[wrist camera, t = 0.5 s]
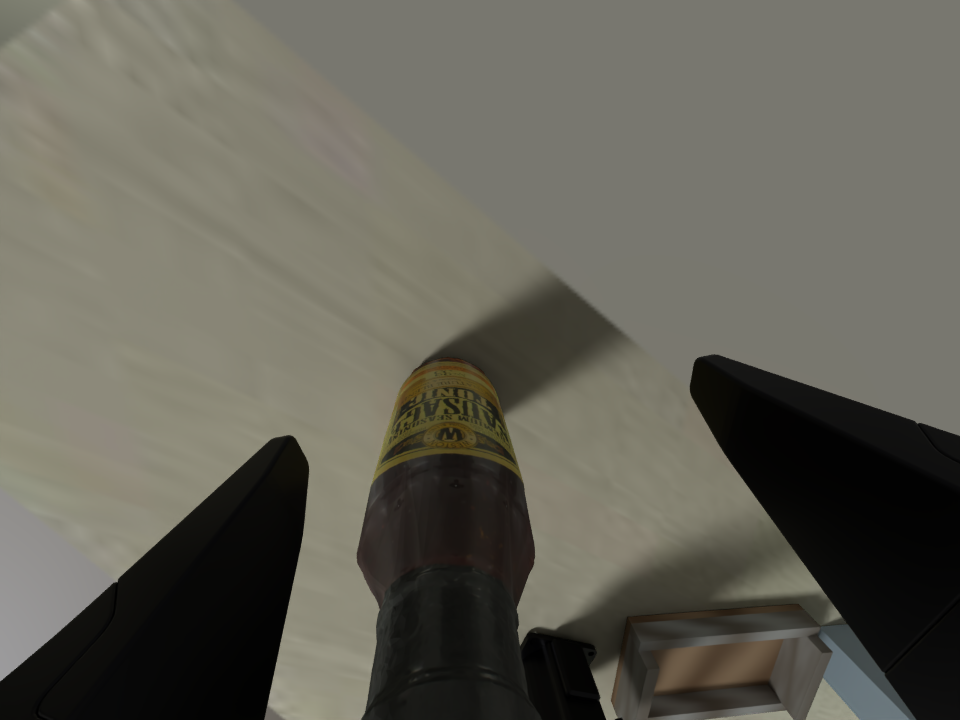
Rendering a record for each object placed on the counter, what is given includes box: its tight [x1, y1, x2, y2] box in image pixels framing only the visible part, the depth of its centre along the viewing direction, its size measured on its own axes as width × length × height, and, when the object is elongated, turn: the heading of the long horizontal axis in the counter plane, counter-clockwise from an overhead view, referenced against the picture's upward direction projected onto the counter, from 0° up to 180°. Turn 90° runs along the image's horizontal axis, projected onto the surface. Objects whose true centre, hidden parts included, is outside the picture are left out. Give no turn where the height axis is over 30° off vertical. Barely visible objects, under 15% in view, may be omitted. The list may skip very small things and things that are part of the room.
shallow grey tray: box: [611, 604, 833, 720], centre depth 35 cm, size 16×10×4 cm, turn 88°
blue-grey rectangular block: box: [818, 624, 916, 720], centre depth 33 cm, size 6×4×12 cm, turn 88°
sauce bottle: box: [357, 357, 542, 720], centre depth 17 cm, size 7×6×20 cm
